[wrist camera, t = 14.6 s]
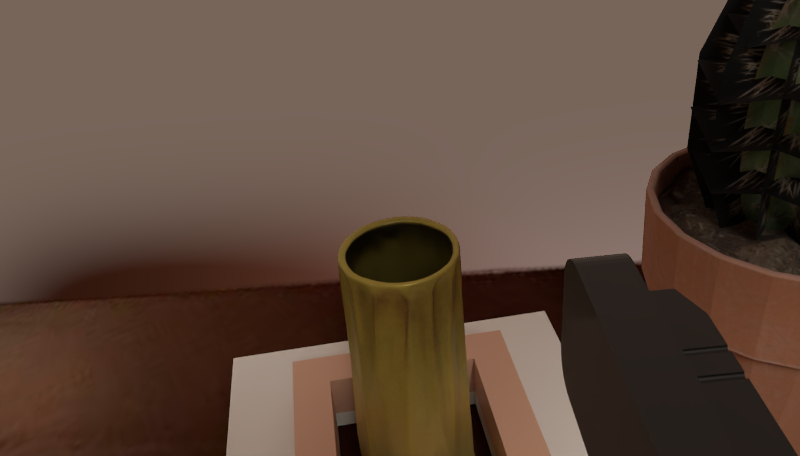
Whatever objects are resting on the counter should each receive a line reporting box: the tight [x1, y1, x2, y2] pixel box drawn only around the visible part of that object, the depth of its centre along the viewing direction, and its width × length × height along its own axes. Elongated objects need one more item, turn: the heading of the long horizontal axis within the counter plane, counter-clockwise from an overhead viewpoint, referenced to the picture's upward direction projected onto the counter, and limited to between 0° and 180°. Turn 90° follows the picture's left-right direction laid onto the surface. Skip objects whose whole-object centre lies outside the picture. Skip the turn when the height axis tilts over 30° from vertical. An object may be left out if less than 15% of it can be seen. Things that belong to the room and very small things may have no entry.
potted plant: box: [642, 0, 800, 456], centre depth 34 cm, size 14×14×25 cm
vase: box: [338, 217, 475, 456], centre depth 34 cm, size 6×6×14 cm
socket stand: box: [226, 311, 588, 456], centre depth 37 cm, size 20×20×4 cm
